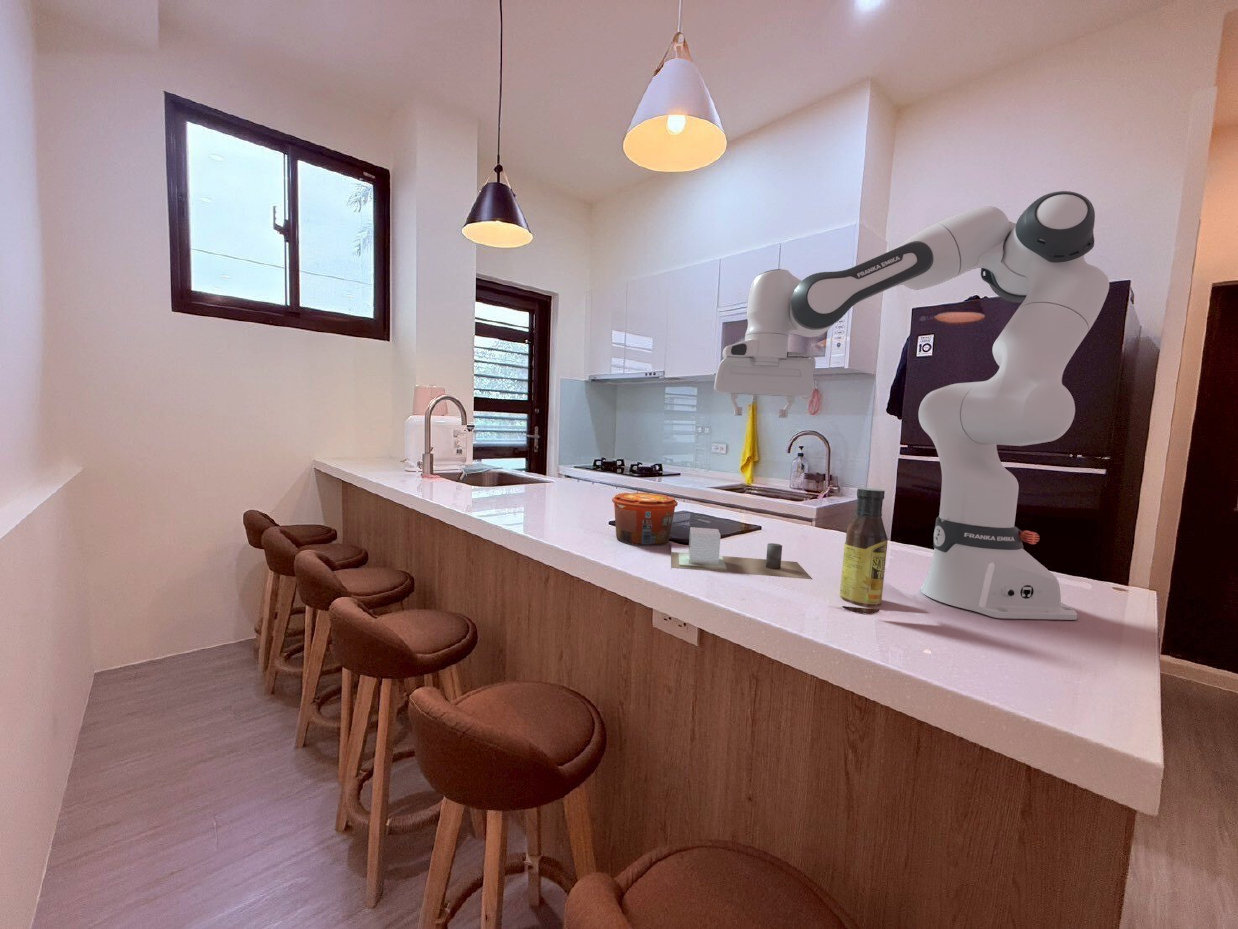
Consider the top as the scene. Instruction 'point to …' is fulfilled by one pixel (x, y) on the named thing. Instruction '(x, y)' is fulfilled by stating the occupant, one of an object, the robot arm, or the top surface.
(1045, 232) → the robot arm
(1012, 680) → the top surface
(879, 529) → the sauce bottle
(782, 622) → the top surface
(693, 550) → the white cube
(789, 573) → the post board
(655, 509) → the food container
